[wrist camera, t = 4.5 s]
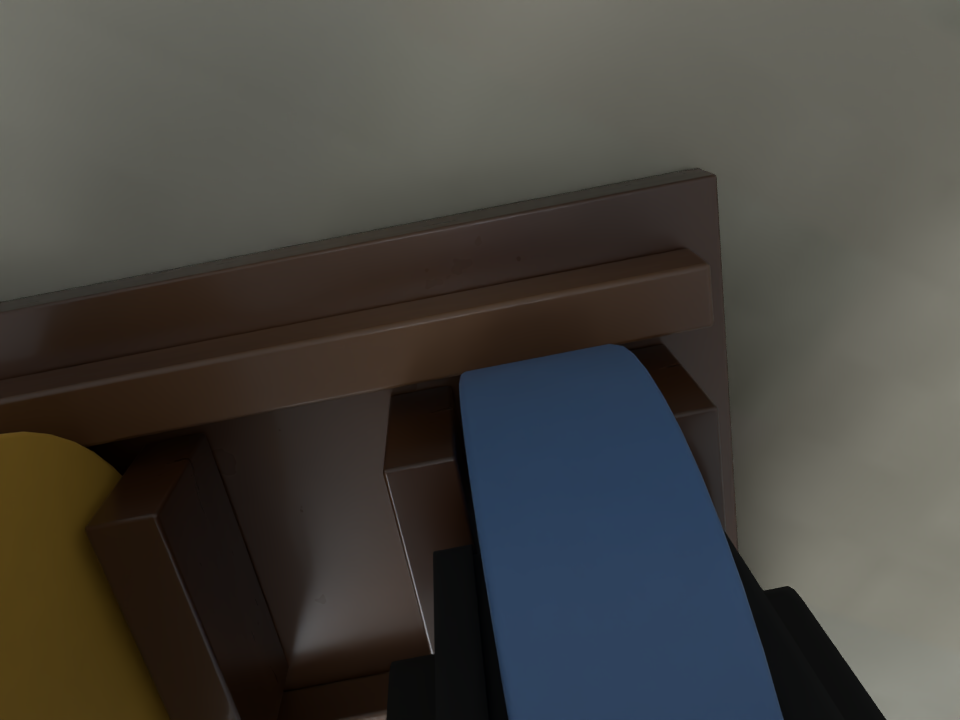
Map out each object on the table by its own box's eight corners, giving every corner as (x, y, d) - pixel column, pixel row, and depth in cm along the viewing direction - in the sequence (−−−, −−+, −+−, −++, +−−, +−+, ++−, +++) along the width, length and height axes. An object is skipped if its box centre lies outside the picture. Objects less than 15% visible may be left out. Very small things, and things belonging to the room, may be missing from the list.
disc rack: (-285, 846, 16) (-449, 1029, 13) (-636, 424, 12) (-987, 545, 9) (731, 651, 16) (803, 791, 13) (699, 166, 12) (790, 203, 9)
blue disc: (527, 684, 15) (635, 1335, 7) (447, 292, 12) (490, 711, 4) (630, 664, 15) (843, 1296, 7) (576, 268, 12) (850, 642, 4)
